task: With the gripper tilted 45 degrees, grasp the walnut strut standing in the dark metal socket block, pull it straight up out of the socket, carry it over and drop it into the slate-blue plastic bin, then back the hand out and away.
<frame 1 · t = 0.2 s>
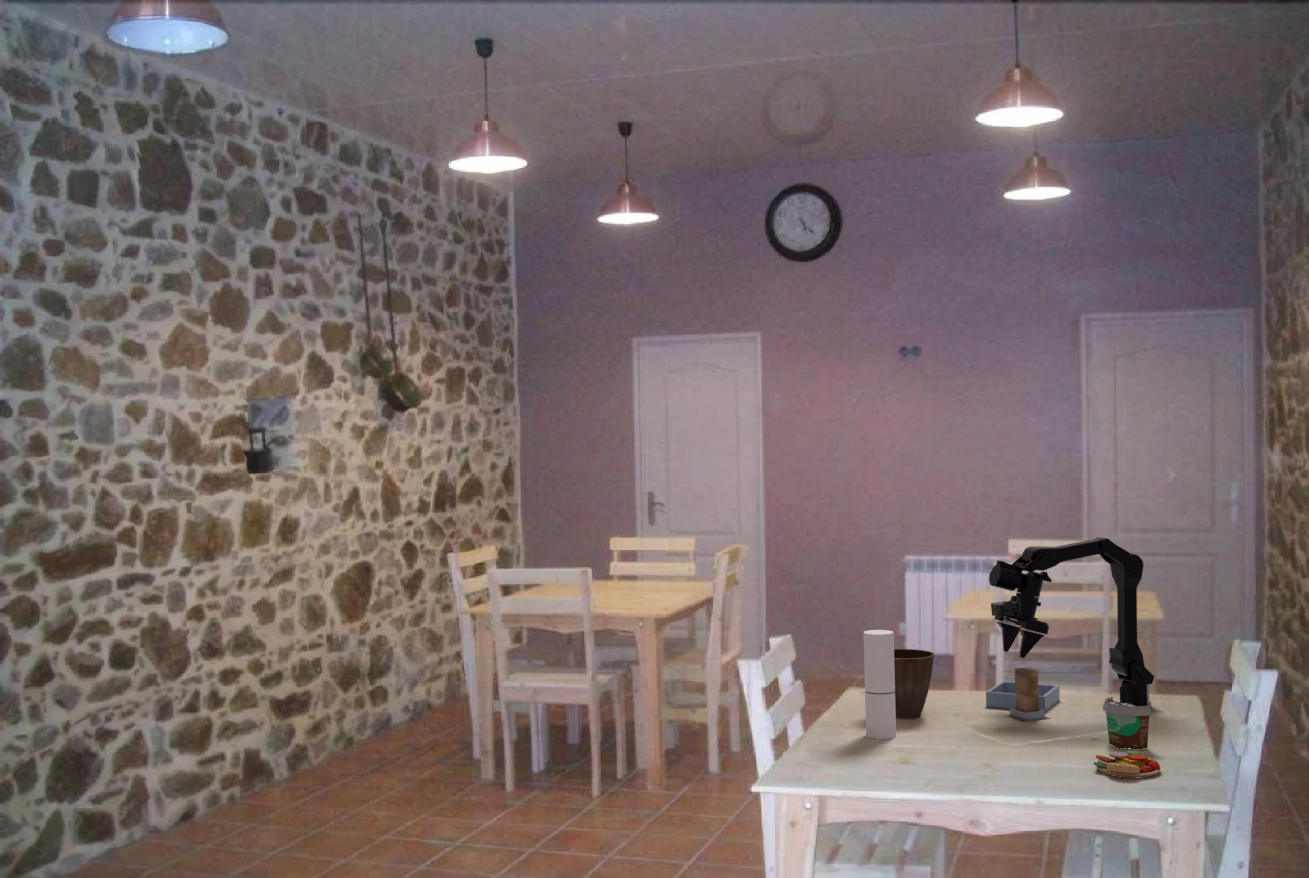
hand: (1013, 654, 331), 15 cm above the table, tool tilted 15°, fingers open, 9 cm apart
socket block: (1027, 719, 324), on the table
toy food set: (1126, 773, 275), on the table
cylindrical container: (881, 736, 311), on the table
bin: (1023, 705, 340), on the table
strut: (1027, 717, 324), point 1 cm above the table, touching socket block
food container: (1121, 747, 296), on the table
plant pot: (905, 716, 332), on the table
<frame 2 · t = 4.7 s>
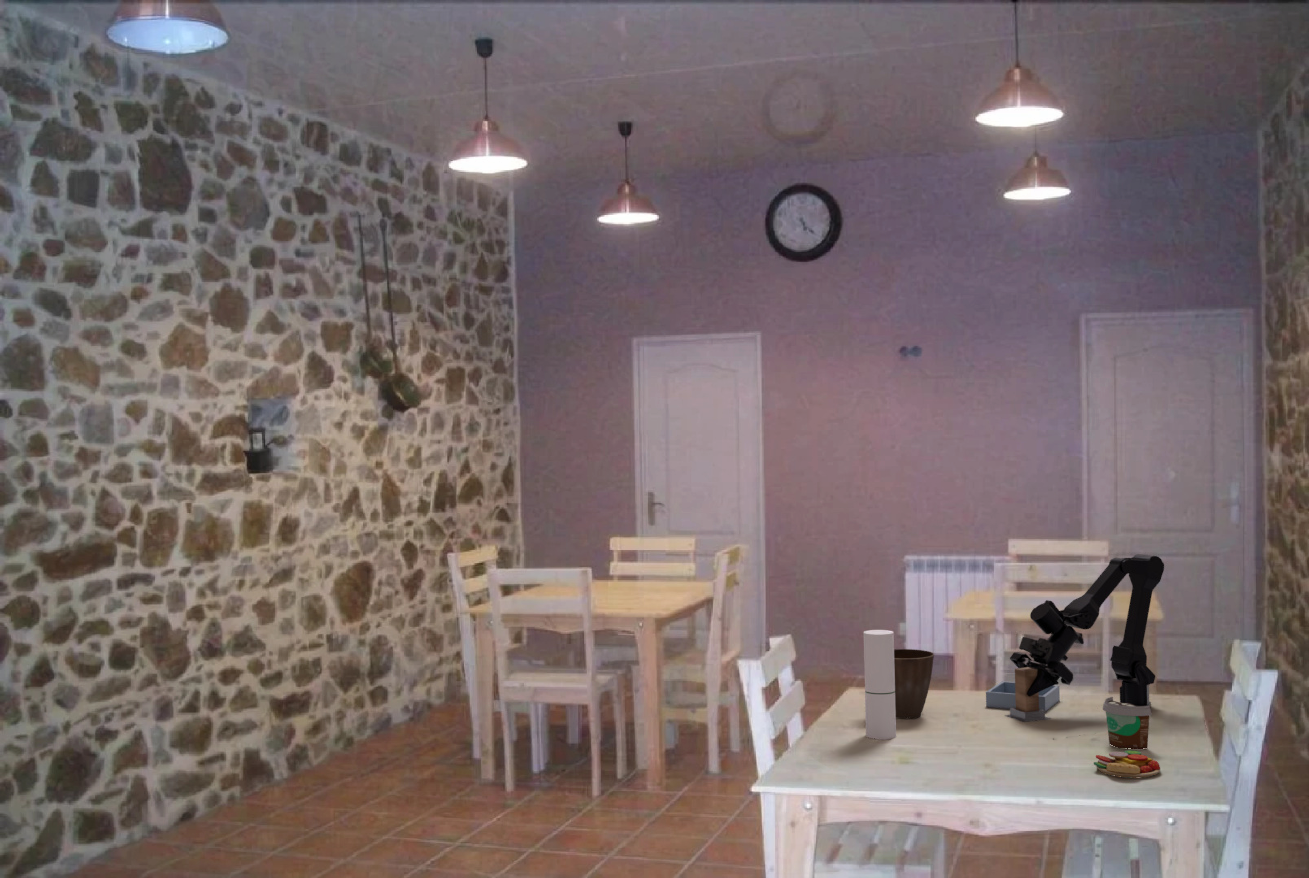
hand: (1022, 693, 324), 7 cm above the table, tool tilted 45°, fingers closed on strut, 4 cm apart
strut: (1027, 717, 324), point 1 cm above the table, touching gripper, socket block
everything else where it was.
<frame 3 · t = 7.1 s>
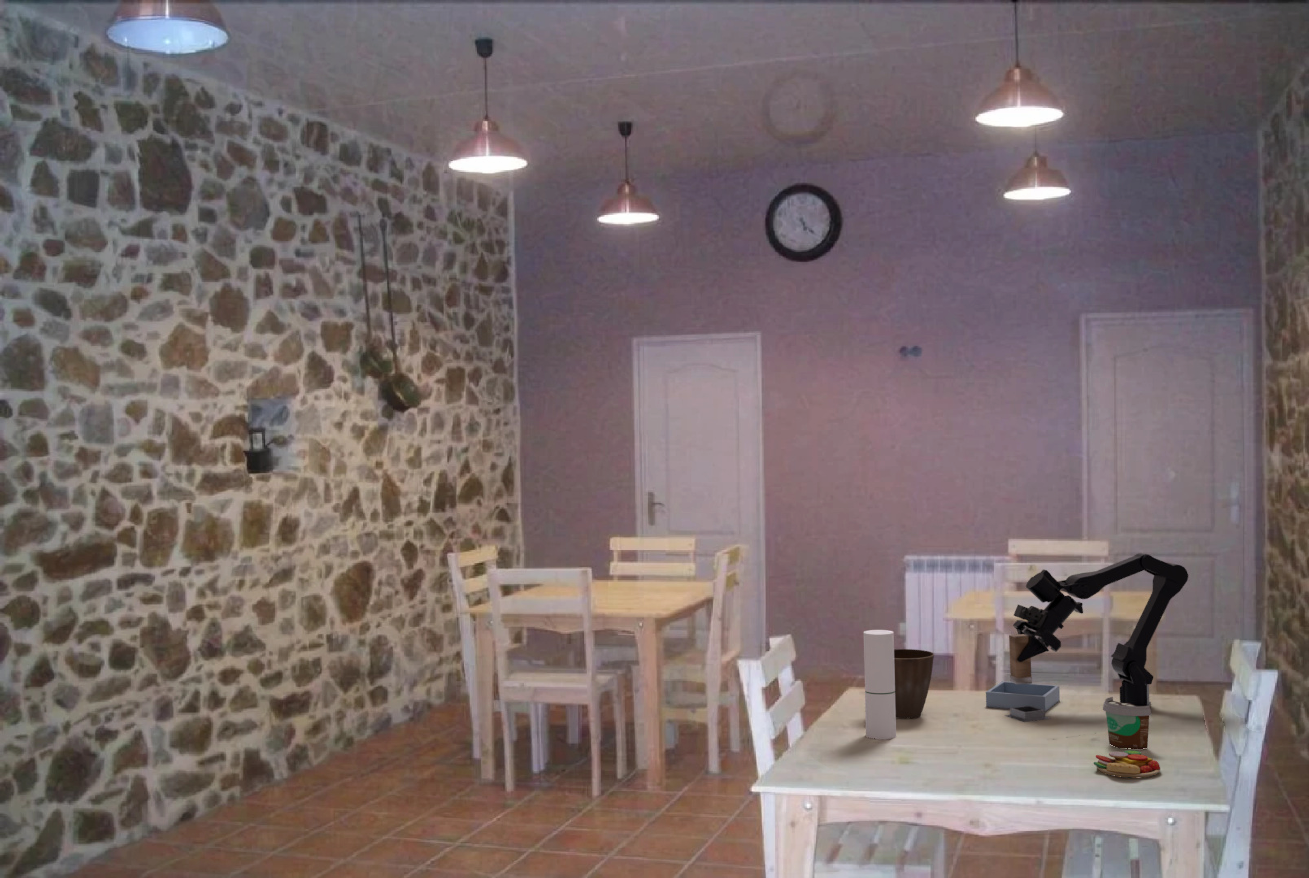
hand: (1015, 659, 333), 13 cm above the table, tool tilted 45°, fingers closed on strut, 4 cm apart
strut: (1021, 682, 334), point 7 cm above the table, touching gripper
everything else where it was.
when the fingers open (8 cm above the table, at t = 9.4 s): strut drops 1 cm, resting on bin.
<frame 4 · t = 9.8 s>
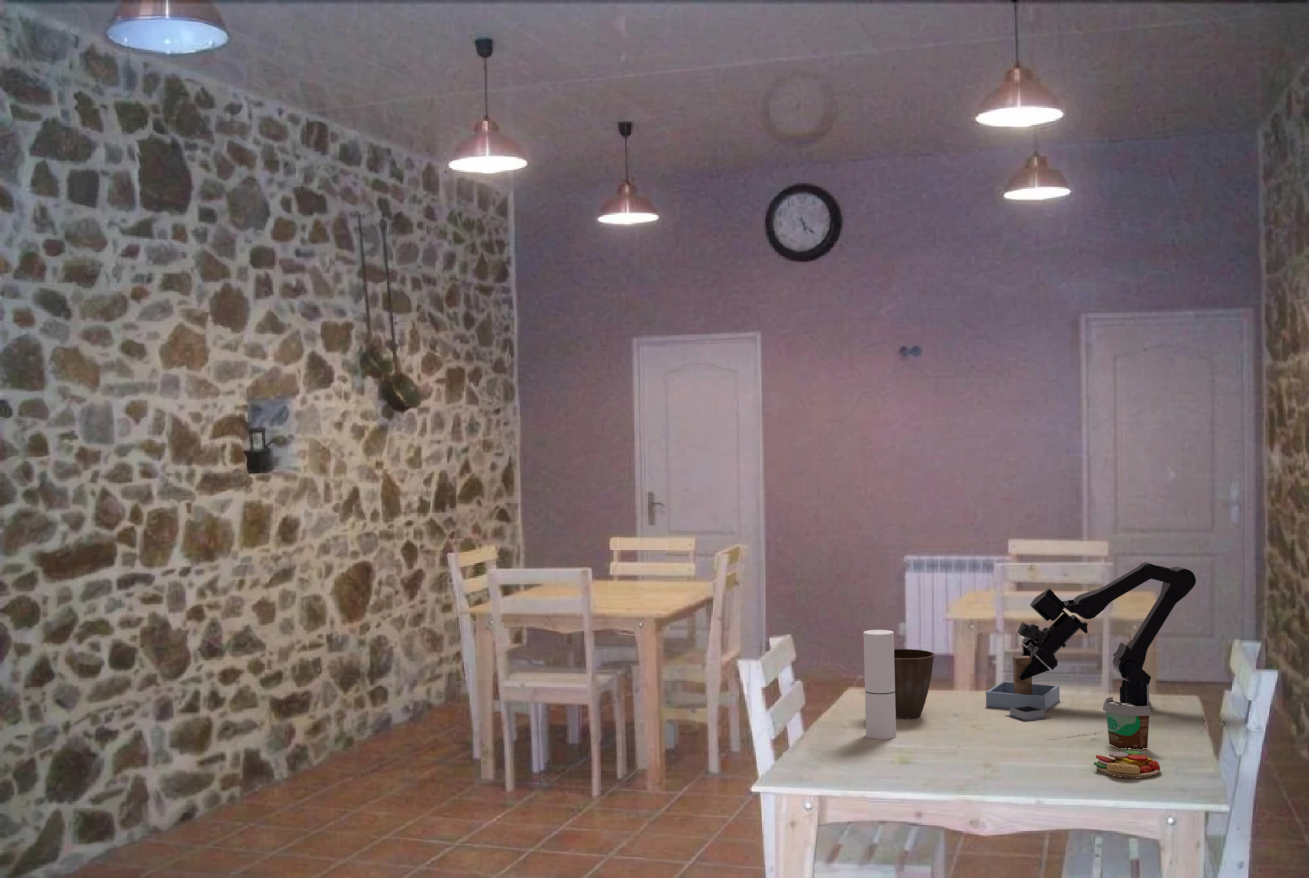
hand: (1017, 675, 340), 8 cm above the table, tool tilted 45°, fingers open, 9 cm apart
strut: (1023, 702, 340), point 1 cm above the table, touching bin
everything else where it was.
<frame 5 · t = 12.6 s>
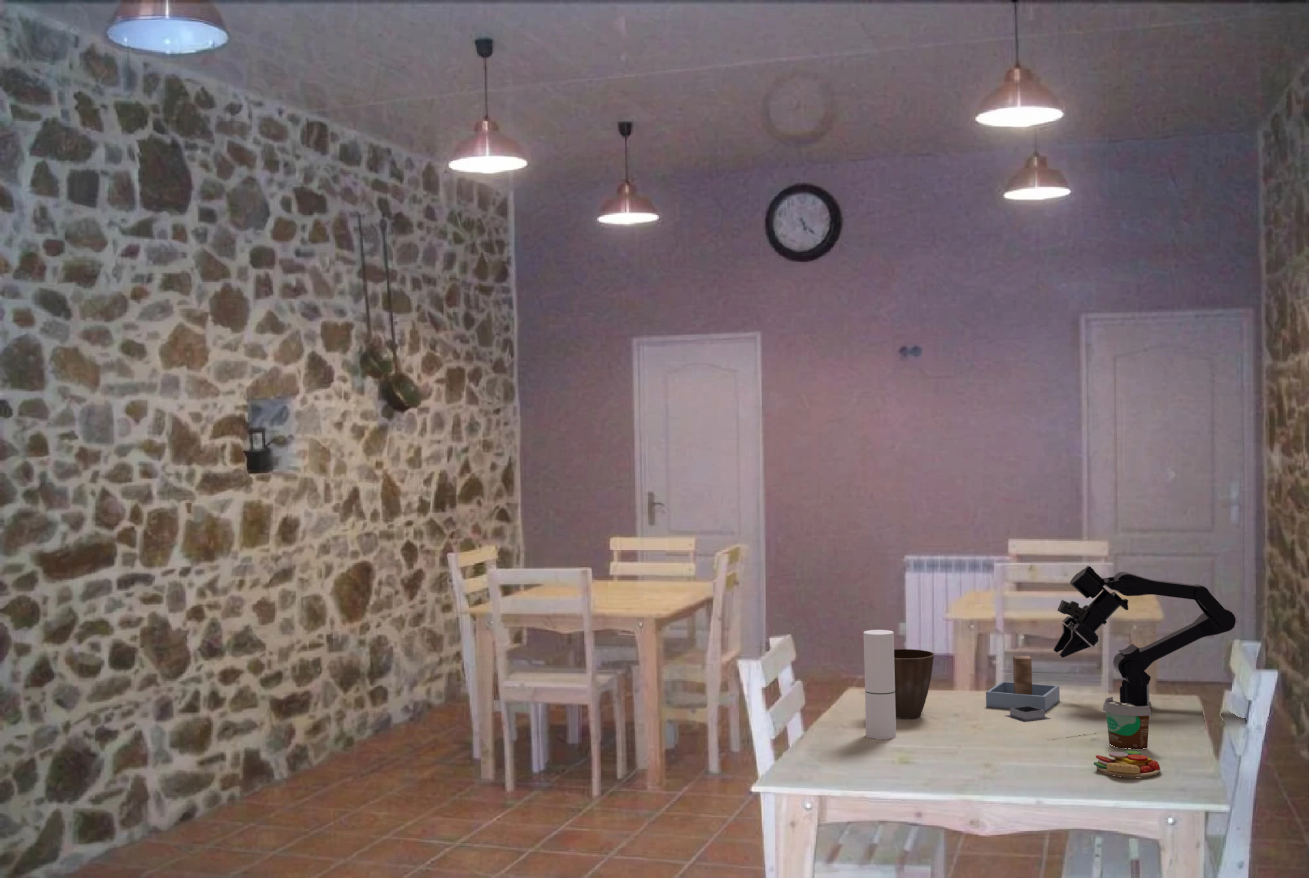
hand: (1057, 653, 339), 14 cm above the table, tool tilted 45°, fingers open, 9 cm apart
nothing on the table moved.
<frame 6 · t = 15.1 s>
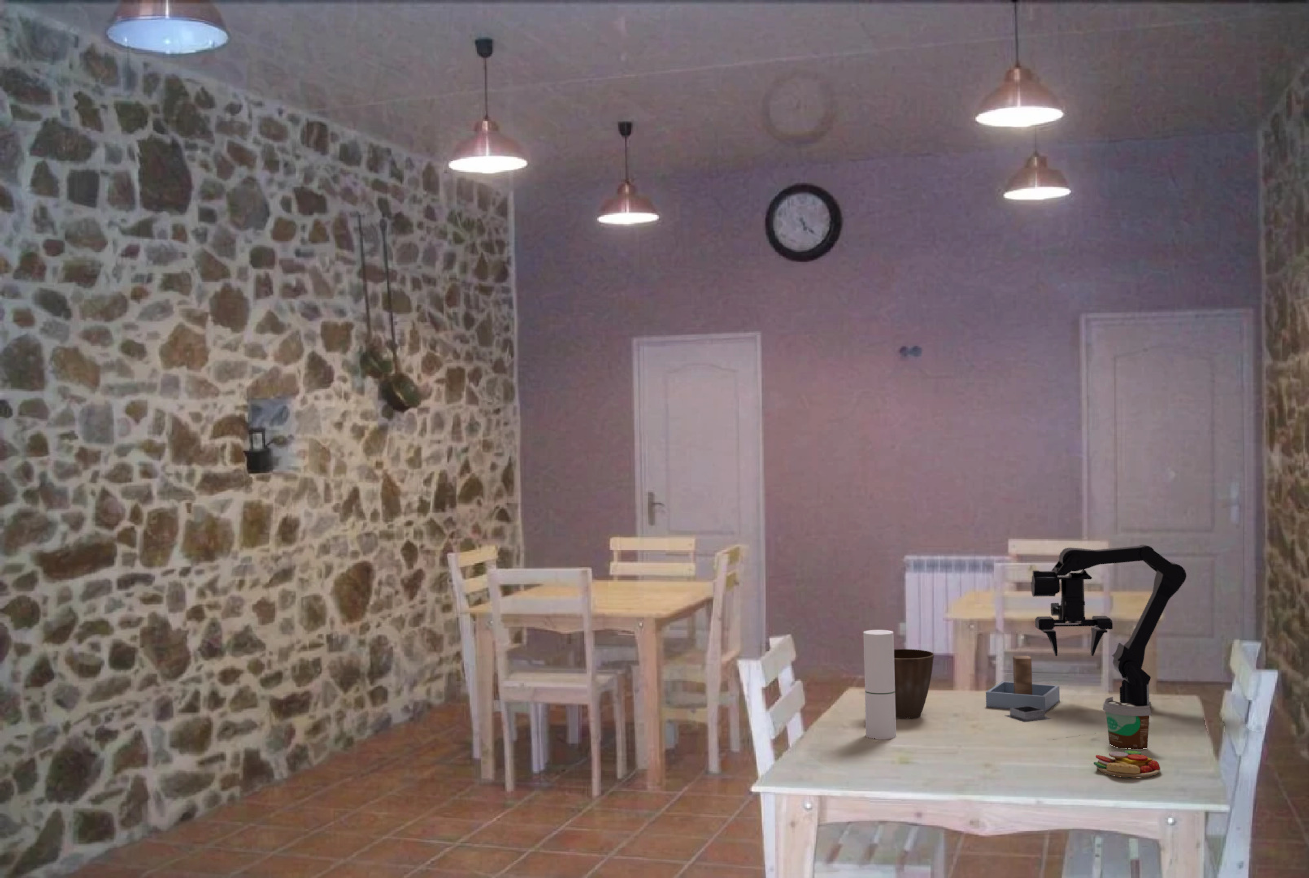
hand: (1074, 655, 339), 13 cm above the table, tool pointing down, fingers open, 9 cm apart
nothing on the table moved.
at the end: strut inside the target area on the bin (0.0 cm from its centre), point 0.8 cm above the bin's base; the gripper is holding nothing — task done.
